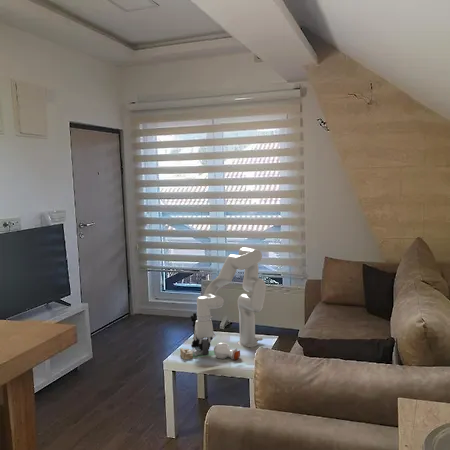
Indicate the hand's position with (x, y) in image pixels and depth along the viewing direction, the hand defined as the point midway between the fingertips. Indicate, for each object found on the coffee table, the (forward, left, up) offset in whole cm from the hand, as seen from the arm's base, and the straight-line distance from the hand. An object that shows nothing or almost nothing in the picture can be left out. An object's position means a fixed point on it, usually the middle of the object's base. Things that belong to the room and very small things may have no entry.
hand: (204, 348), depth 272 cm
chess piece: (-1, -16, -4) cm, 17 cm away
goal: (+11, 0, -3) cm, 11 cm away
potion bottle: (-10, +10, -4) cm, 15 cm away
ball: (+9, 0, -1) cm, 9 cm away
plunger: (+2, 0, -3) cm, 4 cm away
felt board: (+2, 0, -4) cm, 5 cm away
